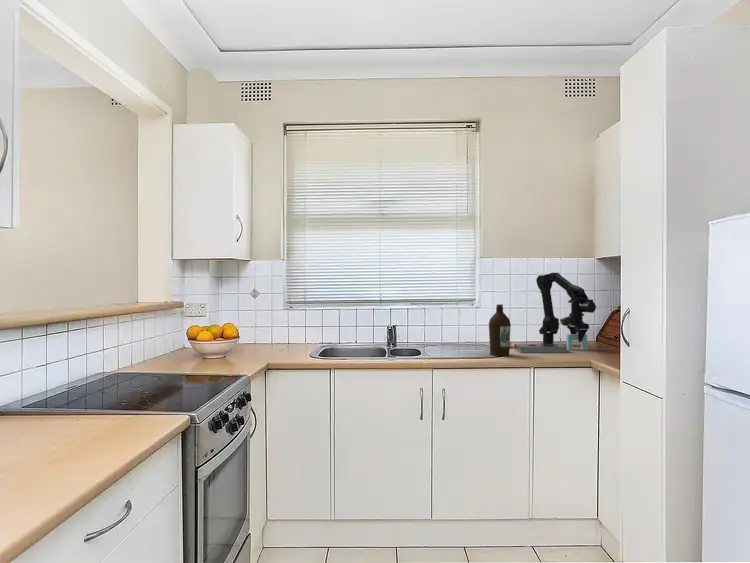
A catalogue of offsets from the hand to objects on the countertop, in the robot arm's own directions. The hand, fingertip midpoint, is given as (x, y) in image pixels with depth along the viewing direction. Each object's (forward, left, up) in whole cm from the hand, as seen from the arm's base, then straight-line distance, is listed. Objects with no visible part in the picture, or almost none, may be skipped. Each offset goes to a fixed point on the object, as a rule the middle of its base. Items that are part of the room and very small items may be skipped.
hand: (576, 341), depth 299 cm
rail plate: (+5, -21, -4) cm, 22 cm away
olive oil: (+17, -45, -5) cm, 48 cm away
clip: (0, 0, -4) cm, 4 cm away
